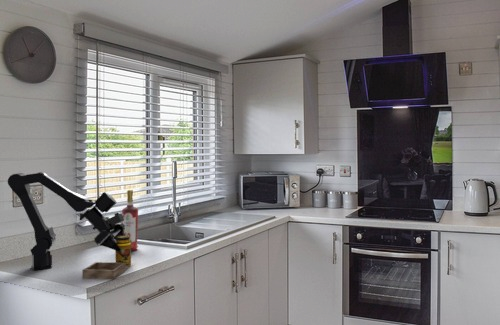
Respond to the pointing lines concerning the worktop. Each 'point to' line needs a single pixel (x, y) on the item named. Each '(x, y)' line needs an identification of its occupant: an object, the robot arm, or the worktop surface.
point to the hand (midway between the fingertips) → (124, 248)
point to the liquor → (131, 220)
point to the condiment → (123, 250)
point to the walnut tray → (104, 270)
